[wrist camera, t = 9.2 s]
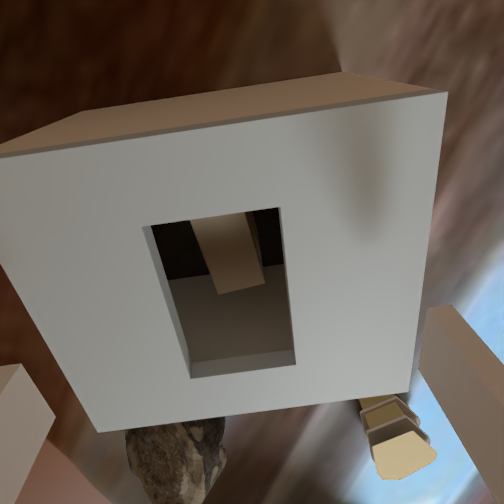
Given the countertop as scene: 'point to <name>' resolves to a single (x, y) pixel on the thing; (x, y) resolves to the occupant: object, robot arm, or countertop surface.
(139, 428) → the fossil
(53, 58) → the countertop surface
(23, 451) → the robot arm
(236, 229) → the tan rectangular block
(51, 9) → the countertop surface
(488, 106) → the countertop surface
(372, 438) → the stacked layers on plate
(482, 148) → the countertop surface
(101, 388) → the slot box
